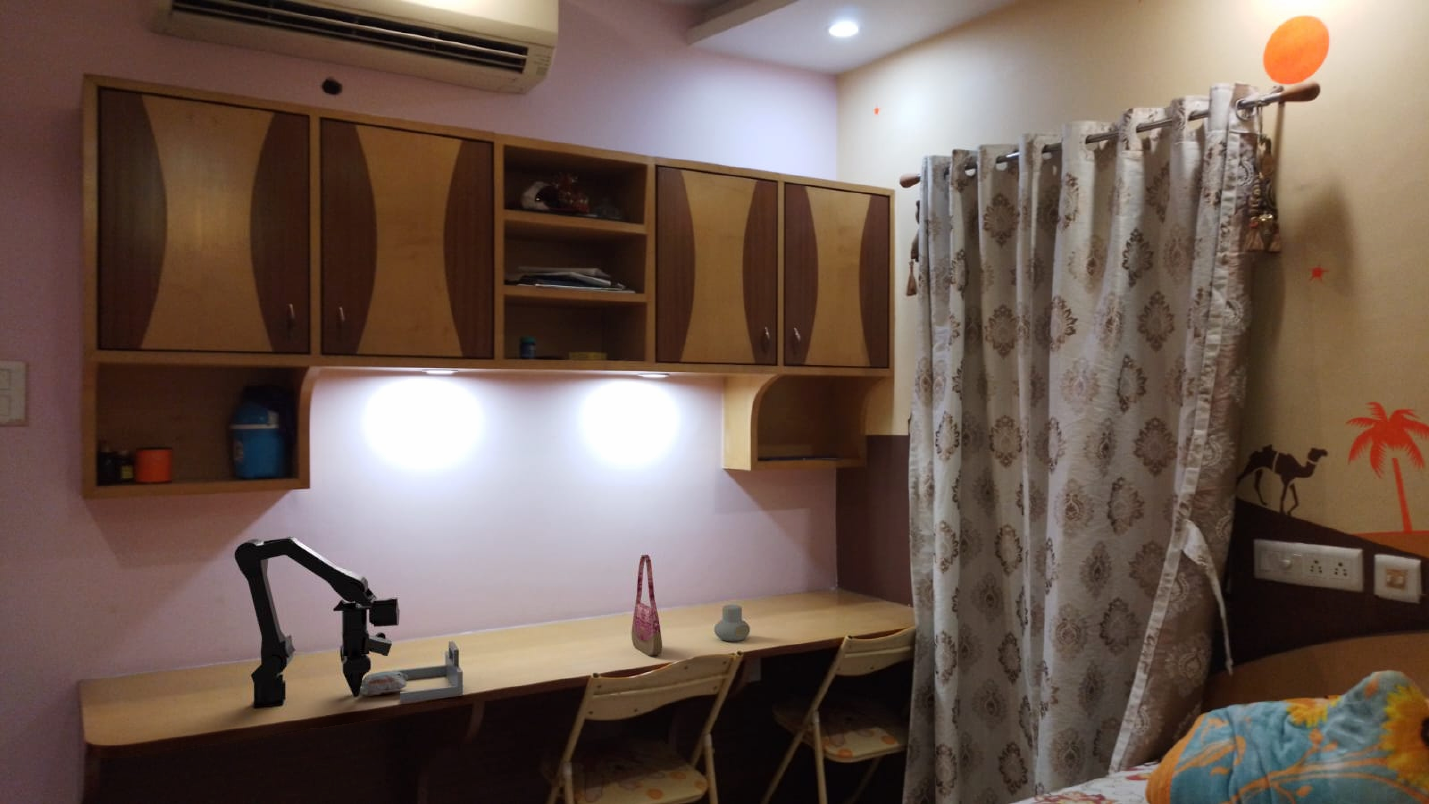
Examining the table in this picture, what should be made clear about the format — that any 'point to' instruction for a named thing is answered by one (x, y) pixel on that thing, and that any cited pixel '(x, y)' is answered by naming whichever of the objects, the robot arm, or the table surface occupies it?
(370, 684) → the packaged food
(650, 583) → the shoulder bag
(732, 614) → the air freshener
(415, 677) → the grey u-shaped frame
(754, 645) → the table surface
